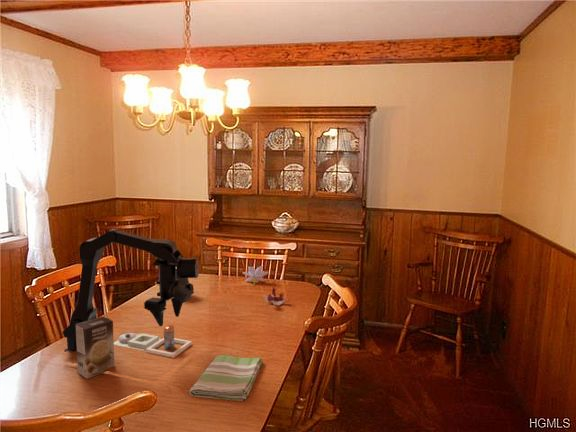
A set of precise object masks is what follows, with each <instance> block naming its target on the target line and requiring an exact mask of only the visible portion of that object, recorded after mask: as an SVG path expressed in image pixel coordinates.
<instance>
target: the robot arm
mask: <svg viewBox="0 0 576 432" xmlns="http://www.w3.org/2000/svg"><path fill="white" fill-rule="evenodd" d="M113 243H115V244H119V245H123V246H126V247H130V248H133V249H137V250H141V251H144V252H147V253H148V254H150V255H151V256H153V257H154V258H156V259H155V261H154V262H152V263H151V265H152V266H158V280H157V281H156V285H159V286H158V287H159V288H158V289H159V291H158V292H156V297H154V296H153V297H150V298H148V299H146V300H145V301H144V302H143V308H144V310H147V311H149V312H150V314H151V315H152V316H153V318H154V320H155V322H157V325H158V326H159V327H164V326H163V325H164V312H165V311H166V310H167V309H168V308H167V307H166V306H167V302H168V301H171V303H172V309H173V312H174V316H175V317H177V318H178V317H179V316H180V314H181V310H182V306H183V304H184V303H186V302H187V301H190V300H191V297H192V295H193V294H195V291H194V290H195V289H194V284H193V283H192V282H191V283H190V282H189V284H187V285H186V286H185V285H180V281H179V279H176V271H177V275H178V276H180V278H188V279H198V278H199V274H200V266H199V262H198V258H197V257H187V258H185V257H184V255H183V254H182V253H181V251H180V250H179V249H178V245H177V244H176V242H175V241H174V240H172V239H165V238H164V239H163V238H149V237H146V236H142V235H138V234H134V233H130V232H126V231H123V230H120V229H118V228H113V229H110V230H108V231H106V232H105V233H104V234H102V235H100V236H99V237H92V238H90V239H87V240H85V241H83V242H81V243H80V245H79V248H78V254H79V255H78V256H79V260H80V262H81V273H80V280H79V281H80V282H79V286H78V287H79V289H78V297H77V303H76V306H75V308H74V310H73V312H72V313H71V317H70V320H69V325H68V326H67V327H66V328H65V329H64V330H63V331H62V335H63V337H64V338H66V345H67V347H66V348H65V349H64V350H63V351H64V352H68V351H71V352H77V343H76V324H77V323H81V322H84V321H88V320H92V319H96V318H98V317H97V313H98V307H94V305H93V299H94V293H95V285H96V284H95V283H96V277H97V271H98V269H97V268H98V264H99V262H100V261H101V258H102V257H103V254H104V251H105V247H107V246H109V245H110V244H113ZM176 267H177V269H176Z"/></svg>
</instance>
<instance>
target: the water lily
mask: <svg viewBox="0 0 576 432" xmlns="http://www.w3.org/2000/svg"><path fill="white" fill-rule="evenodd" d="M247 269H248V270H247V272H244V271H242V274H243V275H244V276H247V277H248V278H246V279H245V280H244V281H245V282H251V281H252V280H253V287H255V286H256V280H257V281H259V282H262V283H263V282H265V279H264V278H263V277H264V276H266V275H267V274H269V271H264V270H262V269H263V266H261V265H260V266H259V267H258V266H257V268H256V269H255V267H254V266H248V267H247Z"/></svg>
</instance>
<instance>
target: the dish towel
mask: <svg viewBox="0 0 576 432" xmlns="http://www.w3.org/2000/svg"><path fill="white" fill-rule="evenodd" d="M263 364H264V362H263V360H262V357H238V356H233V355H228V354H223V355H222V354H219V355H216V356H215V357H214V359H213V360H212V362H211V363H210V364H209V365H208V366H207V368H206V369H205V370H204V372H203V373H202V374H201V375H200V376H199V378H198V379H197V380H196V382H195V383H194V385H192V386H191V388H190V389H189V391H188V392H189V395H190V396H191V397H198V398H207V399H218V400H227V401H240V402H244V401H245V400H247V398H248V396H249V394H250V393H251V390H252V388H253V385H254V384H255V380H256V378H257V376H258V375H259V373H260V370H261V369H262V366H263Z"/></svg>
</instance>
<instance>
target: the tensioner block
mask: <svg viewBox="0 0 576 432" xmlns="http://www.w3.org/2000/svg"><path fill="white" fill-rule="evenodd" d="M161 339H162V338H160V336H159V335H153V334H148V333H143V332H141V333H140V334H137V333H133V332H128V333H123V334H121V335H119V336H118V340H116V341H114V346H119V347H123V348H129V349H134V350H137V351H144V352H145V351H146V349H147V348H148V347H150V346H152V345H153V344H155V343H156V342H158V341H160V340H161Z"/></svg>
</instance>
